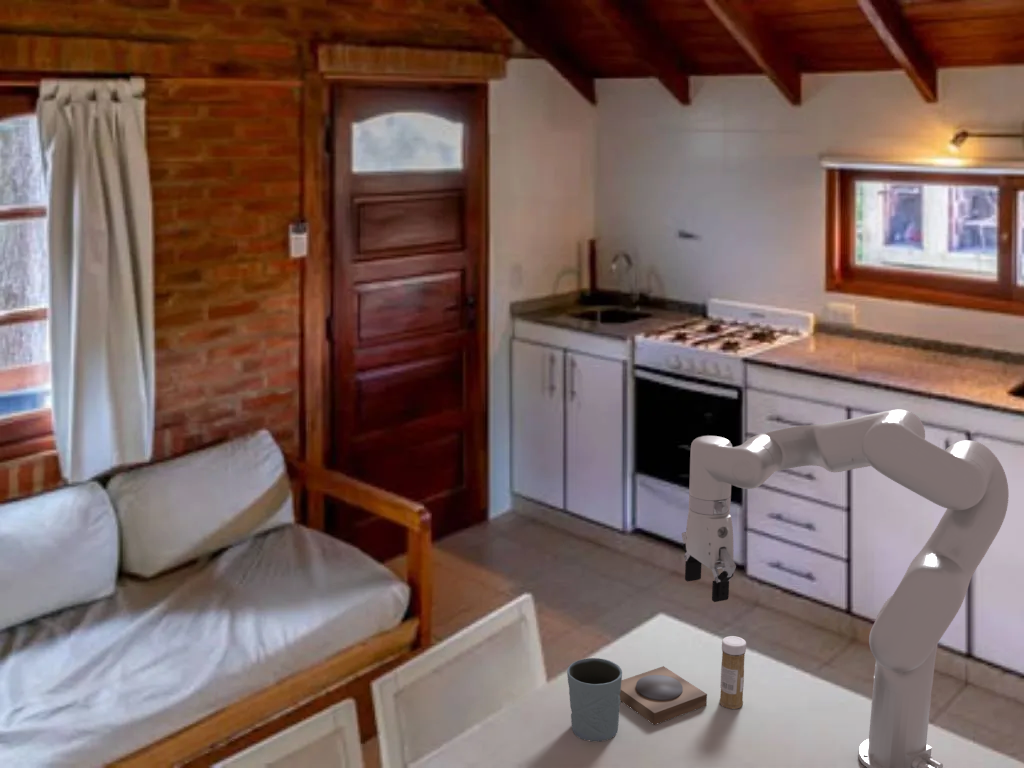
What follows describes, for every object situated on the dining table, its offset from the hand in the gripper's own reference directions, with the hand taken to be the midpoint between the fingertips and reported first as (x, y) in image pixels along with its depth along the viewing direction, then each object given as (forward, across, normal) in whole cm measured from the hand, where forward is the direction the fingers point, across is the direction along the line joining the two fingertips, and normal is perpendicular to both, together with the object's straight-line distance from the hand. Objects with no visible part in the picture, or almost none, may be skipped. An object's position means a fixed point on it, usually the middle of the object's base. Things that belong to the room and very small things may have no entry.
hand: (706, 589), depth 203 cm
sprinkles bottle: (+25, 0, -6) cm, 26 cm away
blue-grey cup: (+25, +1, +22) cm, 34 cm away
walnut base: (+25, +6, +6) cm, 26 cm away
